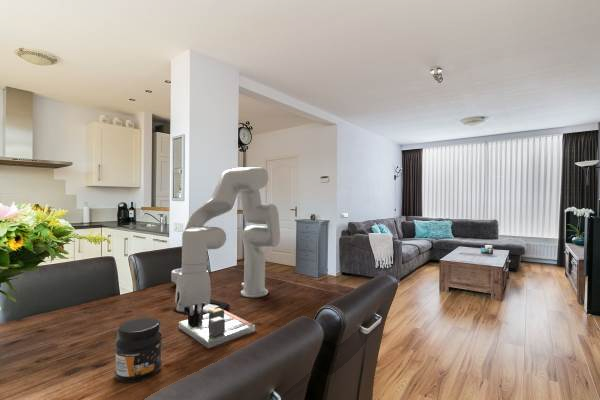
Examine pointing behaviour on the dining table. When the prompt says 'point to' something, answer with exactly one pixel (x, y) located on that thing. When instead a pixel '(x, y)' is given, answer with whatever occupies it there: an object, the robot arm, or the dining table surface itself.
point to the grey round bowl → (175, 275)
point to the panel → (232, 330)
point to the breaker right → (216, 326)
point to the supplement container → (138, 349)
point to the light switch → (209, 307)
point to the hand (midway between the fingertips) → (193, 325)
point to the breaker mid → (216, 313)
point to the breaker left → (200, 315)
